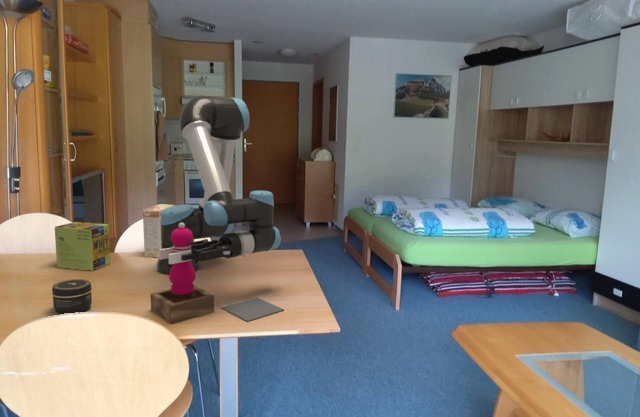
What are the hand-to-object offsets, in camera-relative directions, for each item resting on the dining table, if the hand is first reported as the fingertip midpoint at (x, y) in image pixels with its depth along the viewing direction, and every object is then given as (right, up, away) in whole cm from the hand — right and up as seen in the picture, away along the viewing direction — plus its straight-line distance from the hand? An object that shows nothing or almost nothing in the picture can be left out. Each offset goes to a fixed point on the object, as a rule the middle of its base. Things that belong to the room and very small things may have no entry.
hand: (164, 256), depth 132 cm
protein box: (-45, -8, +48) cm, 67 cm away
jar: (-28, -16, +6) cm, 33 cm away
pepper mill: (+3, -11, +6) cm, 12 cm away
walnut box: (+3, -16, +7) cm, 18 cm away
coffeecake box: (-24, -5, +69) cm, 73 cm away
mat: (+23, -16, +9) cm, 30 cm away
